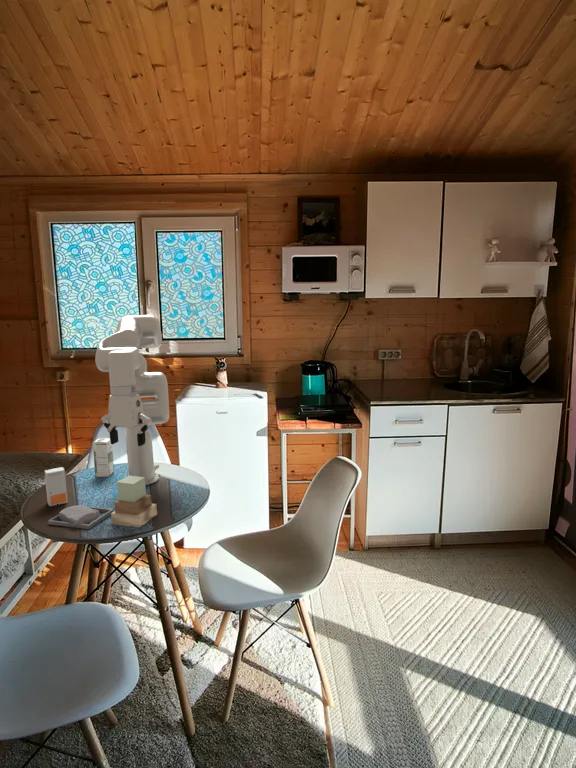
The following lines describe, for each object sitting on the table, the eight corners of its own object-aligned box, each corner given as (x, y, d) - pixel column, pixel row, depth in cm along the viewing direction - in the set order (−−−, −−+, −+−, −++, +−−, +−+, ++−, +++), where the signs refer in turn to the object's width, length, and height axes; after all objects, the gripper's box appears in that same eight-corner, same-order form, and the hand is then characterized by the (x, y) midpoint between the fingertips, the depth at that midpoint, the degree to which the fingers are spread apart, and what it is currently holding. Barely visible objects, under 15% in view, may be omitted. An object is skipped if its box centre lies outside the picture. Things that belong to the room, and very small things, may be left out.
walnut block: (130, 502, 167) (129, 492, 166) (151, 505, 164) (150, 494, 164) (115, 512, 159) (114, 502, 158) (137, 515, 157) (136, 504, 156)
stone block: (85, 517, 171) (55, 522, 164) (86, 503, 172) (56, 507, 164) (104, 525, 164) (74, 530, 156) (105, 510, 164) (75, 515, 156)
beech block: (130, 512, 169) (129, 501, 168) (157, 515, 166) (156, 503, 165) (112, 525, 159) (111, 513, 159) (140, 528, 156) (139, 516, 156)
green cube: (130, 493, 165) (128, 475, 164) (146, 495, 163) (144, 477, 162) (118, 500, 160) (116, 481, 159) (134, 502, 158) (133, 483, 157)
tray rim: (75, 508, 172) (75, 505, 172) (113, 512, 168) (113, 509, 168) (48, 524, 160) (48, 520, 160) (88, 529, 156) (88, 525, 156)
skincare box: (49, 507, 174) (45, 473, 172) (47, 503, 177) (43, 470, 176) (68, 502, 177) (65, 469, 175) (66, 499, 181) (62, 466, 179)
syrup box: (100, 472, 208) (97, 438, 206) (114, 472, 208) (111, 437, 206) (95, 477, 203) (91, 442, 200) (109, 477, 202) (106, 441, 200)
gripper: (154, 389, 158) (158, 442, 161) (106, 387, 163) (111, 439, 166) (141, 393, 151) (145, 449, 154) (91, 392, 156) (96, 445, 159)
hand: (128, 444), depth 160 cm, fingers open, 9 cm apart
